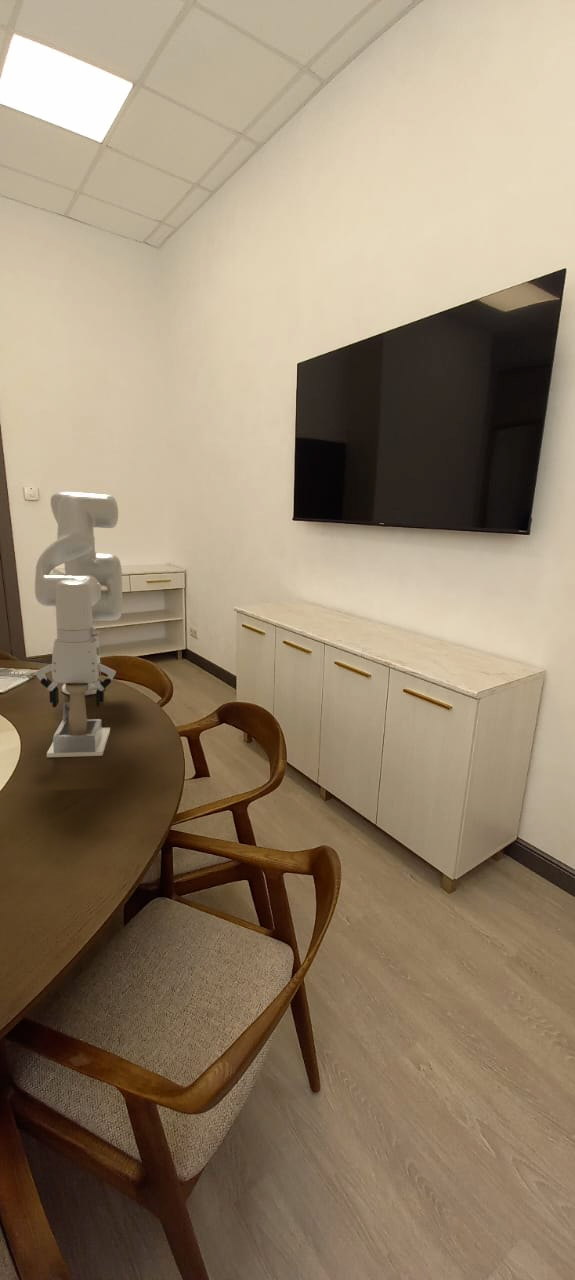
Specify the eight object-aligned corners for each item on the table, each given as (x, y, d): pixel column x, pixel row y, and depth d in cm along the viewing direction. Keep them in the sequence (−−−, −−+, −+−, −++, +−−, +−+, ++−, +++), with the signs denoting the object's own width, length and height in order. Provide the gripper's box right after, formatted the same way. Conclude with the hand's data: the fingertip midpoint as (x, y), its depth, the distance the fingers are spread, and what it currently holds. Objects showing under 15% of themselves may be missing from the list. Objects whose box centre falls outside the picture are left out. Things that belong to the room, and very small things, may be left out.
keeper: (60, 732, 131) (59, 699, 129) (110, 731, 133) (109, 699, 131) (46, 757, 118) (45, 721, 116) (102, 755, 120) (101, 720, 118)
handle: (90, 736, 127) (88, 678, 124) (88, 747, 121) (87, 687, 118) (69, 737, 126) (67, 679, 122) (66, 749, 120) (64, 688, 116)
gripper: (116, 631, 123) (117, 699, 127) (38, 630, 119) (42, 699, 123) (112, 639, 116) (114, 710, 120) (29, 638, 112) (33, 711, 116)
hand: (77, 705), depth 122 cm, fingers open, 9 cm apart
